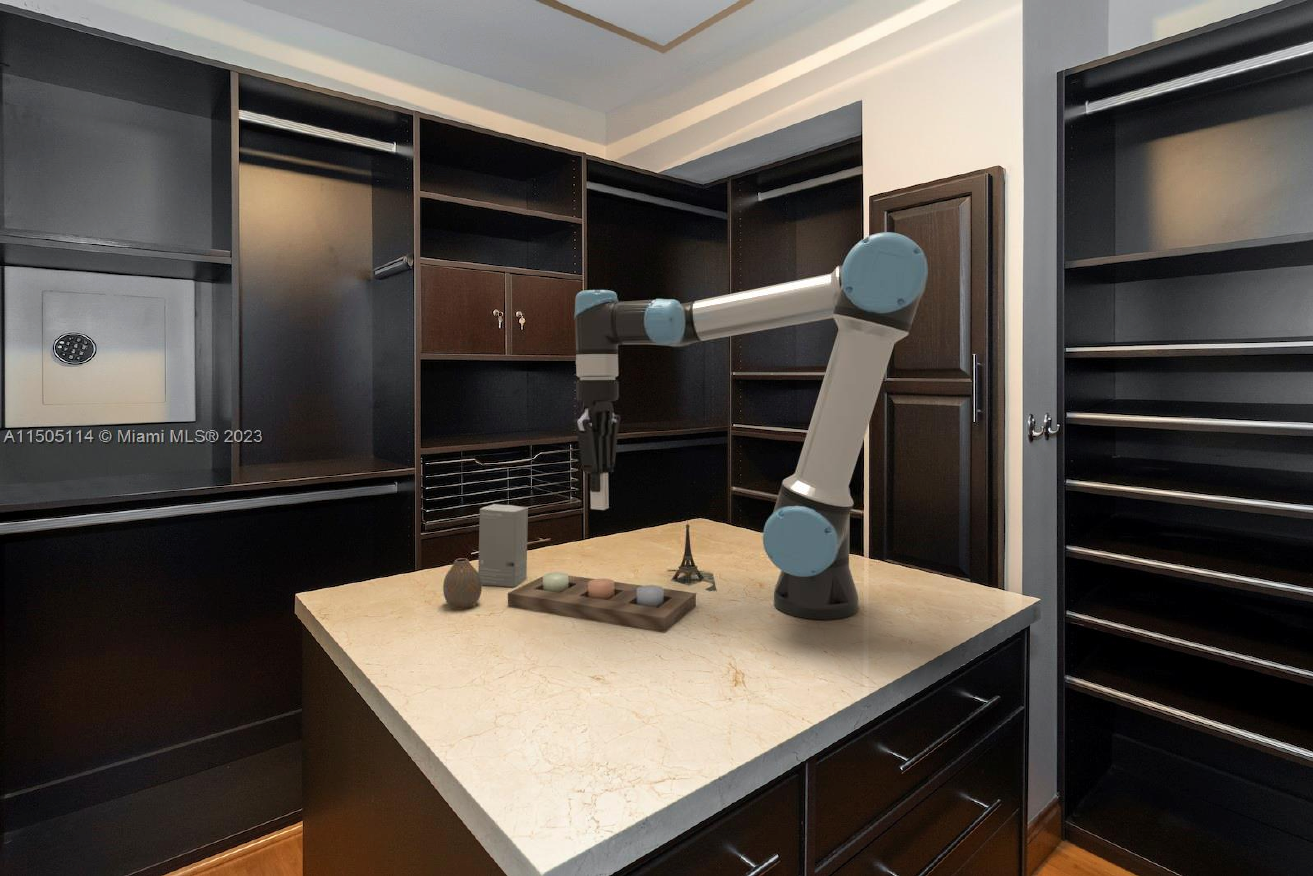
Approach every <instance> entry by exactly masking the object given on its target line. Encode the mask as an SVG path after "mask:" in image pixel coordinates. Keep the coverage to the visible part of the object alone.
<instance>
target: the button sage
mask: <svg viewBox="0 0 1313 876" xmlns="http://www.w3.org/2000/svg"><path fill="white" fill-rule="evenodd" d="M568 575H569V574H568V573H567V572H566V573H565V572H560V571H559V572H549V573H546V574H544V575H542V577H543V590H544V591H551V592H557V593H561V592H563V591H565V590H567V589H569V586H568Z"/></svg>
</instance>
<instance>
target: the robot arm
mask: <svg viewBox="0 0 1313 876" xmlns="http://www.w3.org/2000/svg"><path fill="white" fill-rule="evenodd" d="M928 276H929V266H928V261H927V257H926V256H925V253H924V251H923V249H922V248H921V246H920V245H918V244H917V243H916V241H914V240H913V239H911V238H909V237H908V236H906V235H903V234H901V233H897V232H889V231H888V232H887V231H886V232H878V233H874V234H871V235H868V236H866V237H865V238H863V239H861V240H860V241H858V243H856V244H855V245H854V246H853V247H852V248H851V249H850V251H849V252H848V254H847V256H846V257H845V259H844V261H843V264H841V265H838V266H836V268H834V270H833V272H831V273H827V274H823V275H822V274H821V275H817V276H813V277H808V278H803V279H798V280H793V281H787V282H784V283H783V282H782V283H777V284H773V285H768V286H764V287H759V288H754V289H753V288H752V289H749V290H744V291H739V292H734V293H730V294H723V295H719V296H714V297H709V298H705V299H701V300H695V301H690V302H685V303H681V302H680V301H679V300H676V299H672V298H670V299H666V298H656V299H647V300H644V299H643V300H631V301H630V300H629V301H622V300H620V301H619V299H618V294H617V293H616V292H615V291H613V290H608V289H589V290H587V289H586V290H581V291H580V292H578V293H577V294H576V295H575V301H574V302H575V305H574V307H575V308H574V316H573V318H574V323H575V325H574V328H575V329H574V330H575V354H576V355H575V365H576V366H575V367H576V376H577V378H579V380H577V381H576V399H577V400H578V401H579V402H582V409H581V416H580V418H575V419H574V420H573V425H574V428H575V430H576V433H577V441H578V449H579V456H580V463H581V470H582V471H583V473H584V474H588V475H589V483H590V484H589V485H590V487H589V489H590V491H589V492H590V493H589V494H590V510H598V511H599V510H600V511H605V510H607V509H609V508H610V507H609V504H610V503H609V502H610V501H609V496H610V495H609V473H613V472H615V471H614V470H615V468H614V467H615V465H616V459H617V458H616V457H617V445H618V433H619V426H620V422H621V419H622V418H621V415H619V414H615V413H614V407H613V401H617V400H618V399H619V397H620V396H619V395H620V394H619V392H620V391H619V381H618V379H616V378H617V377H618V376H619V346H620V345H621V346H622V345H623V346H625V345H655V346H668V347H672V348H680V347H681V348H682V347H686V346H689V345H690V344H694V343H695V344H696V343H700V342H703V341H708V340H715V339H720V338H726V337H731V336H732V337H733V336H737V335H743V334H749V333H754V332H759V331H764V330H765V331H766V330H772V329H777V328H783V327H787V326H793V325H800V324H805V323H806V324H807V323H811V322H818V321H823V320H828V319H833V320H834V322H835V324H836V325H837V328H838V331H837V334H836V337H835V341H834V343H833V347H832V351H831V354H830V356H829V360H828V364H827V366H826V371H825V373H824V377H823V380H822V383H821V387H820V390H819V393H818V397H817V400H816V403H815V406H814V410H813V412H812V416H811V420H810V424H809V426H808V430H807V432H806V436H805V438H804V443H803V446H802V449H801V452H800V455H799V458H798V462H797V466H796V468H795V471H794V473H793V474H792V475H789V476H788V477H786V478H784V479H783V480H782V482H781V485H780V489H779V491H778V495H777V499H776V502H775V505H774V509H773V512H772V514H771V515H769V517H768V518H767V520H766V521H765V524H764V527H763V532H762V543H763V544H762V545H763V549H764V551H765V553H766V555H767V557H768V559H769V560H770V561H771V563H772V564H773V565H774V566H775V567H776V568H778V569H779V570H780V573H779V576H778V579H777V581H776V584H775V587H774V591H773V605H774V607H775V608H776V609H778V610H779V611H780V612H781V613H785V614H787V615H790V616H793V617H798V618H801V619H802V618H804V619H812V620H836V619H843V618H847V617H851V616H852V615H855V614H856V613H857V612H858V611H859V594H858V591H857V588H856V584H855V582H854V578H853V575H852V572H851V569H850V530H851V529H850V523H851V522H850V520H851V519H850V518H851V517H850V516H851V512H852V509H853V506H854V504H855V503H854V500H853V498H852V496H851V489H850V487H849V485H850V483H851V481H852V477H853V474H854V470H855V468H856V464H857V461H858V457H859V455H860V452H861V449H862V447H863V442H864V439H865V436H866V433H867V430H868V427H869V424H870V421H871V418H872V415H873V411H874V408H875V405H876V402H877V399H878V395H879V393H880V389H881V386H882V383H883V380H884V378H885V374H886V370H887V368H888V365H889V362H890V359H891V357H892V356H891V355H892V354H893V353H892V352H893V349H894V347H895V346H894V345H895V344H896V343H897V342H899V341H901V340H902V339H905V337H907V336H909V333H910V330H911V327H912V324H913V321H914V318H915V316H916V312H917V309H918V306H919V304H920V300H922V298H923V296H924V293H925V291H926V288H927V281H928Z"/></svg>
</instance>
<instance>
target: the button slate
mask: <svg viewBox="0 0 1313 876" xmlns="http://www.w3.org/2000/svg"><path fill="white" fill-rule="evenodd" d="M663 604H664V594H663V587H662V586H660V585H655V584H647V585H642V586H641V587H638V588H637V605H643V606H650V607H656V608H659V607H660V606H661V605H663Z"/></svg>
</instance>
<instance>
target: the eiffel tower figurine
mask: <svg viewBox="0 0 1313 876" xmlns="http://www.w3.org/2000/svg"><path fill="white" fill-rule="evenodd" d="M688 521H689V520H688V519H687V524H685V530H686V531H685V543H684V553H683V557H682V561H681V563H680V565H679V566H678V569H666V572H676V573H675V574H673V576H672V578H671V579H670V581H671V582H675V583H677V584H682V585H685V586H689V587H690V586H692V585H695V584H699V583H701V582H705V583H709V584H711V586H710V587H707V588H705V590H706V591H708V592H717V591H718V590H717V586H716V582H715V578H714V573H711V572H709V571H705V570H699V569H698V566H697V565H696V564H695V562H694V558H693V557H694V556H693V554H692V548H691V539H690V524H689V523H688ZM681 574H684V575H681ZM680 575H681V576H680Z"/></svg>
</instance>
